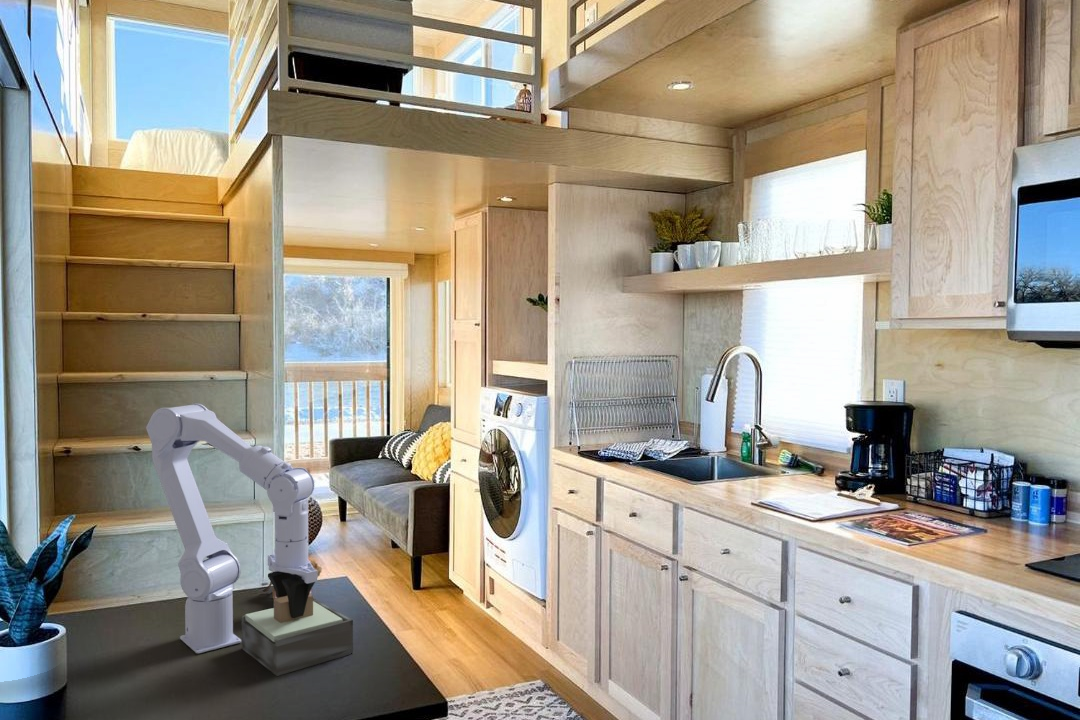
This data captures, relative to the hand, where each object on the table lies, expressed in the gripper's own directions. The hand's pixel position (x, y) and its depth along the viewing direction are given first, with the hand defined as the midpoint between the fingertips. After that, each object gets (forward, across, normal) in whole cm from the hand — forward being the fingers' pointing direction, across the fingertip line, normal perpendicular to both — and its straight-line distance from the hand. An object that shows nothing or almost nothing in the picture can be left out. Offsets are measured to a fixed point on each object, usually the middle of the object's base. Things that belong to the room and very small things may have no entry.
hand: (292, 613), depth 141 cm
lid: (+2, 0, 0) cm, 2 cm away
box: (+7, 0, +1) cm, 7 cm away
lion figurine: (+7, -27, +14) cm, 31 cm away
